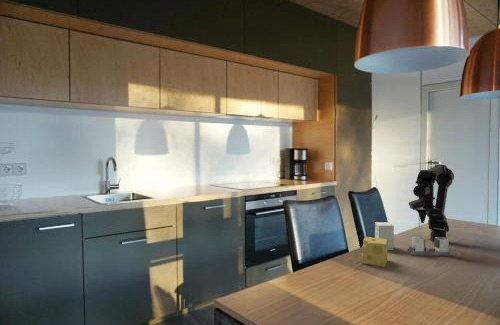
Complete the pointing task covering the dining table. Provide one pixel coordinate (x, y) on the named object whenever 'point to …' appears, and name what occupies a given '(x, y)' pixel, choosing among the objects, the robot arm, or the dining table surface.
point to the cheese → (374, 251)
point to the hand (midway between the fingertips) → (426, 225)
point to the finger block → (418, 243)
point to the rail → (439, 250)
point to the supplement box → (385, 233)
